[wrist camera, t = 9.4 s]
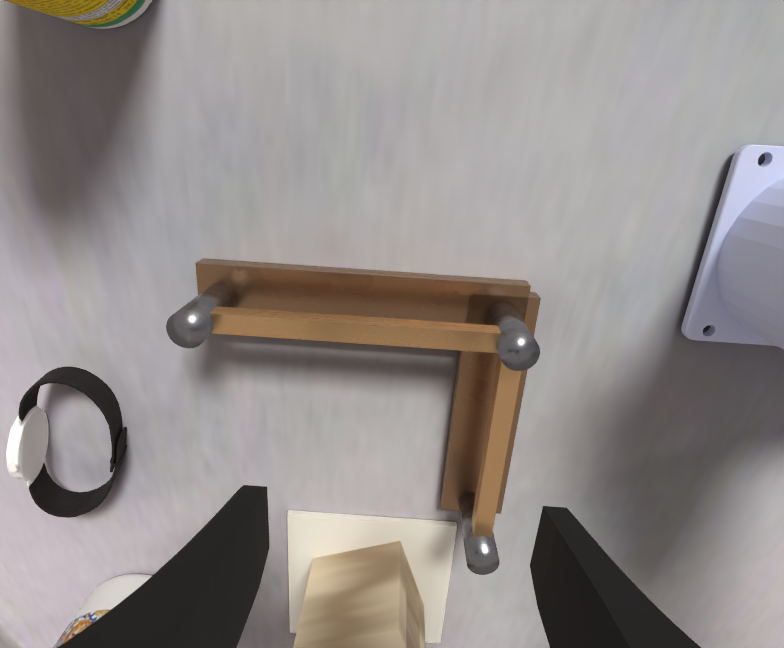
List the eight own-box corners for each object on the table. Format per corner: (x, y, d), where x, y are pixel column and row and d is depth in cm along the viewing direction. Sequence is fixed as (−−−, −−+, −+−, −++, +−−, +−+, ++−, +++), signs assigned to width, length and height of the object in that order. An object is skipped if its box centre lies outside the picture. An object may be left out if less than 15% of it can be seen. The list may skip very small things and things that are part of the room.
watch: (33, 352, 23) (-31, 389, 20) (133, 367, 23) (86, 407, 20) (49, 481, 26) (-4, 533, 22) (138, 494, 26) (97, 548, 22)
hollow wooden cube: (400, 540, 26) (399, 629, 21) (424, 605, 28) (427, 700, 23) (312, 558, 26) (293, 648, 22) (341, 620, 28) (328, 716, 24)
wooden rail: (537, 281, 21) (570, 317, 17) (497, 505, 25) (515, 576, 21) (203, 258, 21) (153, 288, 17) (221, 486, 25) (185, 553, 21)
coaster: (456, 522, 26) (457, 526, 25) (439, 638, 29) (440, 643, 29) (288, 510, 26) (287, 514, 25) (290, 627, 29) (289, 632, 29)
